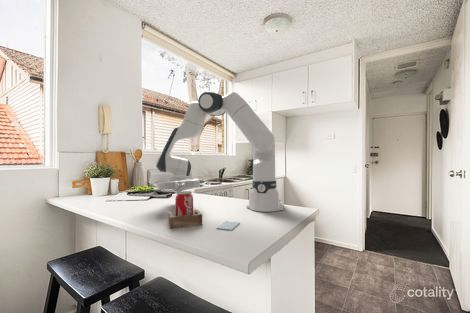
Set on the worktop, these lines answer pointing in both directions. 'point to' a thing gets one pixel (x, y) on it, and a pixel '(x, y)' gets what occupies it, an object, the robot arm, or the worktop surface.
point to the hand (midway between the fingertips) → (181, 185)
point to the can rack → (185, 220)
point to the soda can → (184, 203)
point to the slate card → (228, 225)
